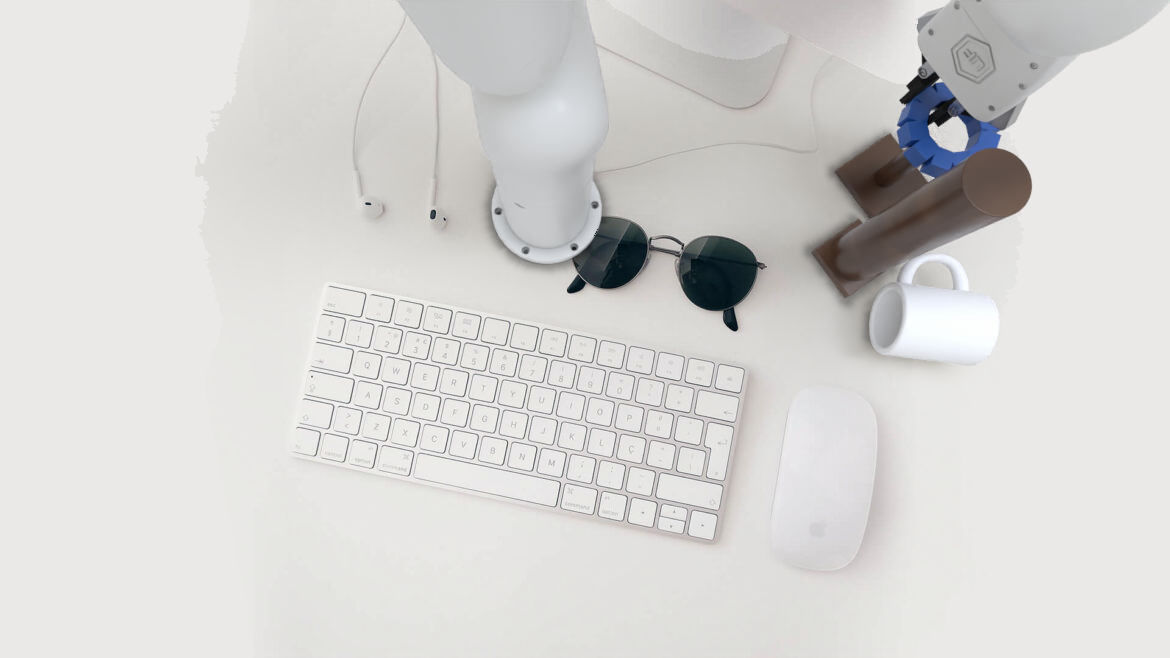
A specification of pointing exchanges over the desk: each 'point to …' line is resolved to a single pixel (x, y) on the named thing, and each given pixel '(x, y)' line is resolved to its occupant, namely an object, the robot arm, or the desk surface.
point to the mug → (933, 318)
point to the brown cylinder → (928, 218)
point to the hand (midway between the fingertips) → (922, 107)
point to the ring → (922, 144)
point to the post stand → (880, 176)
